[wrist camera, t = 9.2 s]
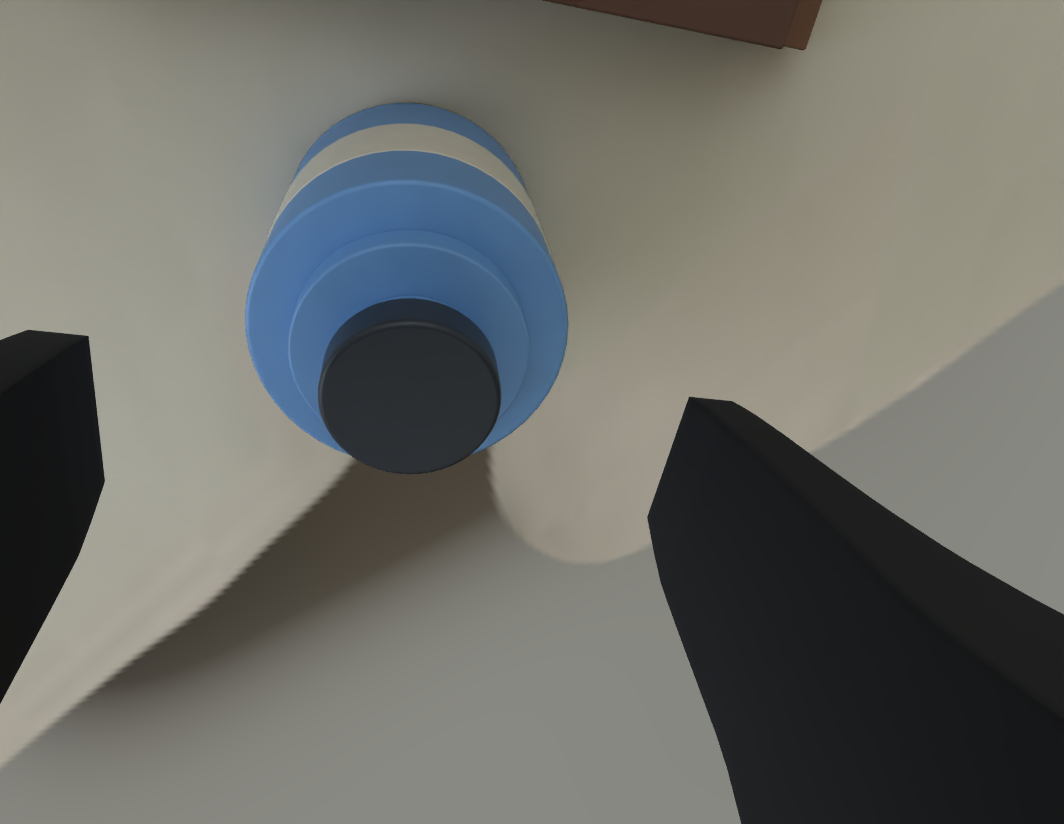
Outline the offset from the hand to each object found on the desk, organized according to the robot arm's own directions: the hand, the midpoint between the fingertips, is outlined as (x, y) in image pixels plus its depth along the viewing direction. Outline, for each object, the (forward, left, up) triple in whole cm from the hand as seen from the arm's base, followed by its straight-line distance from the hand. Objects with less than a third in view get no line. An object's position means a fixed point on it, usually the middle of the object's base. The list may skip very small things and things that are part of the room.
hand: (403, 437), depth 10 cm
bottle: (0, 0, -8) cm, 8 cm away
